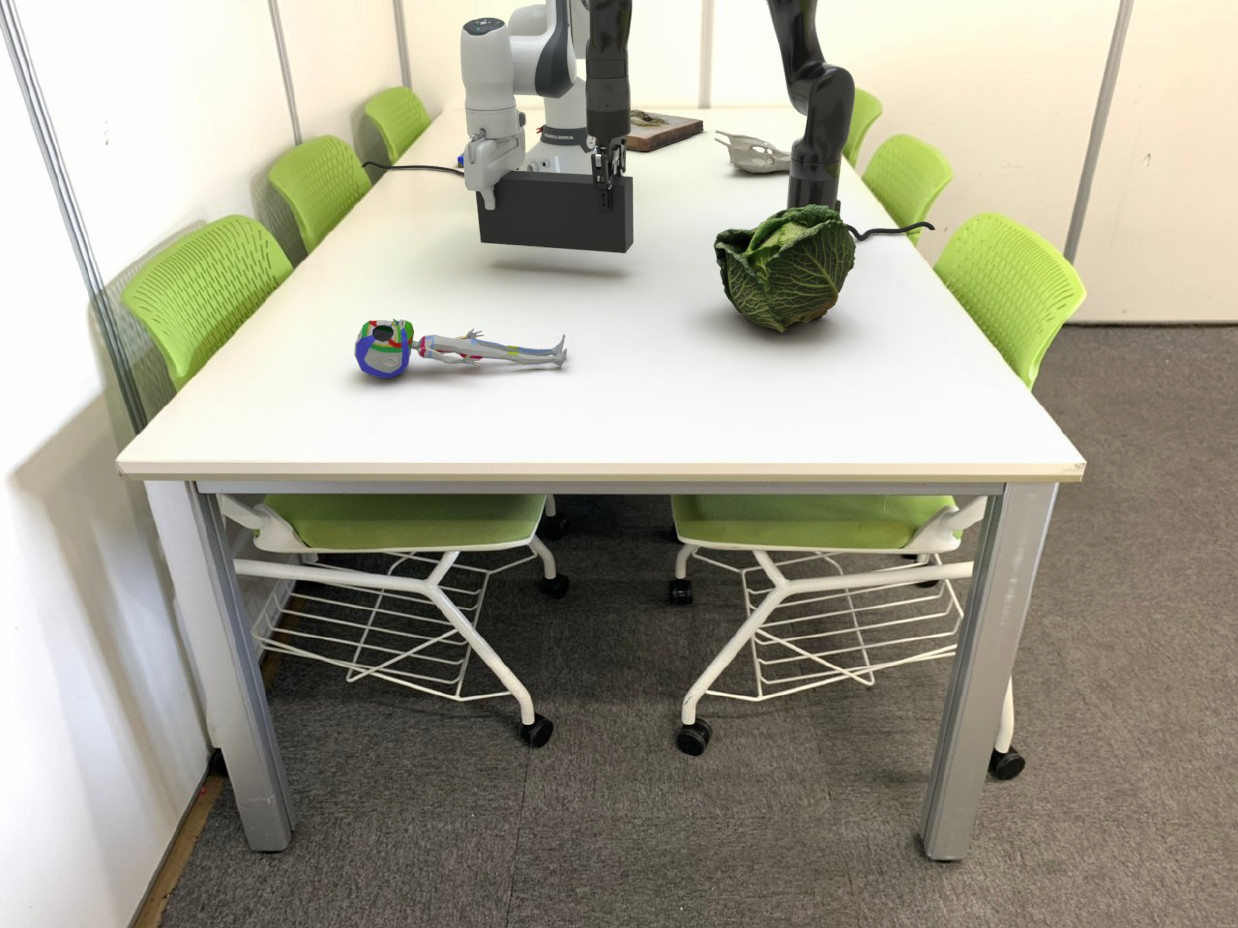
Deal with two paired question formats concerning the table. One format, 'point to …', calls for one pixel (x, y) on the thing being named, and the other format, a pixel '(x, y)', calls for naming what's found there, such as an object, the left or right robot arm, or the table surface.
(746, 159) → the anatomical model
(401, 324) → the toy
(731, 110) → the table surface
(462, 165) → the pillar
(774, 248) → the vegetable
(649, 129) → the plaque
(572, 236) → the box
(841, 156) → the right robot arm
